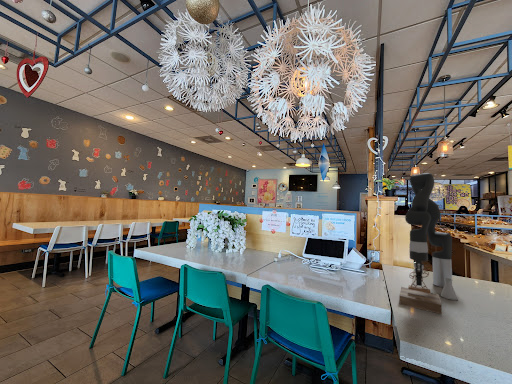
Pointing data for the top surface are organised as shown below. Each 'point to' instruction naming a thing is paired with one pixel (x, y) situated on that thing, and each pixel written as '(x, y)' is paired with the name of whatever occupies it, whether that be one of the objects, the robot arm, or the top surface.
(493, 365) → the top surface
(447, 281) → the flask
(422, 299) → the walnut plinth
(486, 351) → the top surface
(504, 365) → the top surface
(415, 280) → the gingerbread man figurine
